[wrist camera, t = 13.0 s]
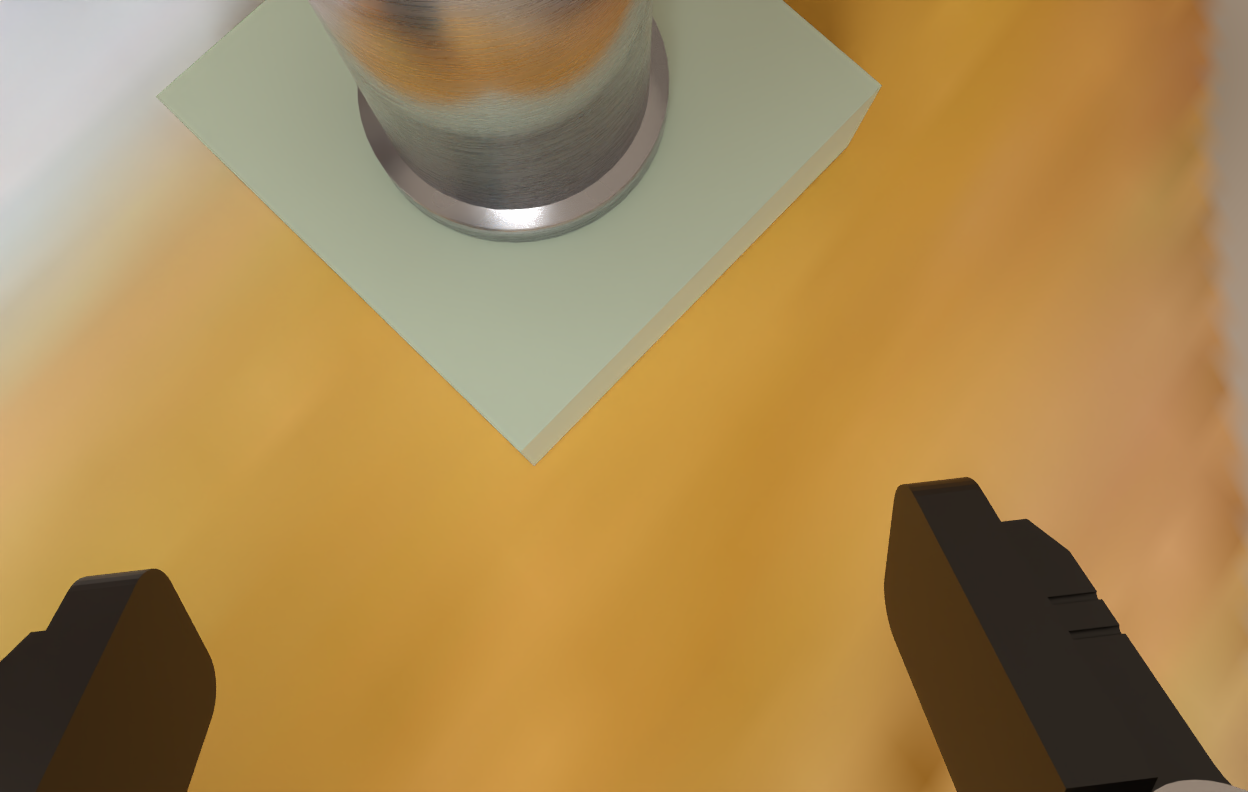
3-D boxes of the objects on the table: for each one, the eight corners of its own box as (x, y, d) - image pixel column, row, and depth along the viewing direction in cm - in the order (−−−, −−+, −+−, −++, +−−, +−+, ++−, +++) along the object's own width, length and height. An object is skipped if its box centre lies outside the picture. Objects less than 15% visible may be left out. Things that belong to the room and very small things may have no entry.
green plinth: (216, 156, 22) (155, 96, 19) (532, -128, 24) (520, -225, 21) (534, 466, 21) (520, 452, 18) (847, 146, 23) (881, 85, 20)
